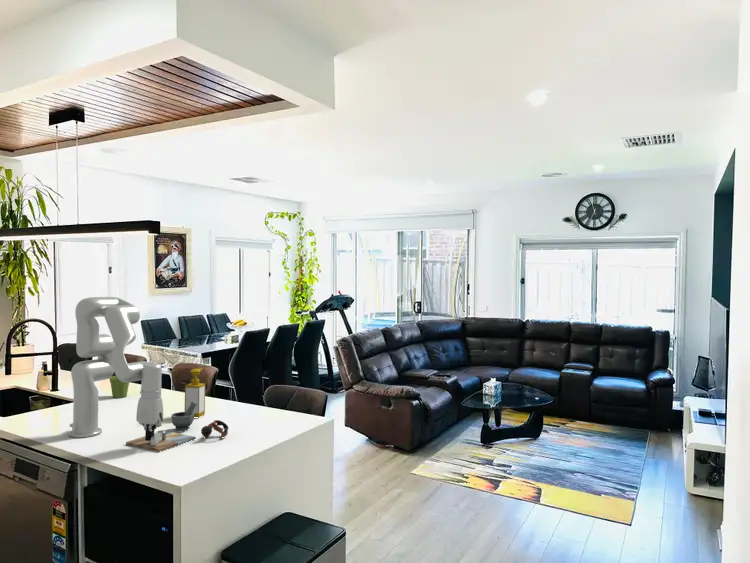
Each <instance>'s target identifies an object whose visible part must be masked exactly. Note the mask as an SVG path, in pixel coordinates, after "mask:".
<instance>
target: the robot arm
mask: <svg viewBox="0 0 750 563" xmlns="http://www.w3.org/2000/svg"><path fill="white" fill-rule="evenodd" d="M74 313H75V320H76V343H75V344H76V347H75V350H76V354H77V356H78V357H79V358H82V359H83V358H84V359H86V358H87V359H88V358H89V359H90V358H94V357H95V358H96V357H97V358H96V359H90V360H89V359H88V360H87V359H86V360H83V361H79V362H76V363H75V364H74V365H73V366H72V368H71V373H70V374H71V375H70V376H71V380H72V388H73V404H72V406H73V409H72V411H73V412H72V413H73V414H72V418H73V419H72V423H70V424H69V427H70V428H72V429H71V430H69V432H68V436H69V437H70V438H77V439H79V438H88V437H94V436H97V435H100V434H101V433H102V432H103V431H102V430H103V428H100V427H99V389H98V387H97V386H96V385H95V382H101V381H105V380H109V378H110V377H113V376H114V374H115V376H117V378H118V379H119V380H120V381H121V382H124V383H127V382H129V383H133V382H136V381H141V382H140V384H141V385H140V386H141V387H140V391H139V394H140V397H139V398H138V402H137V407H136V416H135V417H136V422H137V423H138V424H139V425H142V427H143V430H144V431H145V432H144V433H145V434H144V436H145V440H146V441H150V440H151V437H153V436H154V433H155V430H157V428H159V427H162V426H163V424H162V422H163V421H164V405H163V399H162V375H163V374H162V372H163V371H162V370H163V368H162V365H161V364H160V363H152V362H149V361H146V360H143V361H135V362H129V363H128V362H127V359H126V357H125V349H126V348H127V346H128V345H130V344H132V343H133V342H134V341H135V340H136V339H137V335H136V332H135V331H134V327H133V325H135V324H137V323H139V321H140V317H141V314H140V310H139V309H138V308H137V307H136V306H135V305H134V304H132V303H130V302H128V301H127V300H124V299H122V298H120V297H115V296H93V297H92V296H90V297H85V298H83V299H81V300H80V301H78V303H77V304H76V306H75V312H74ZM99 317H104V320H105V322H106V324H107V327H108V329H109V332H110V334H107V333H106V334H105V333H103V334H102V333H101V334H100V324H99V321H98V320H97V318H99Z"/></svg>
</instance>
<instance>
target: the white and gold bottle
mask: <svg viewBox="0 0 750 563" xmlns="http://www.w3.org/2000/svg"><path fill="white" fill-rule="evenodd" d="M202 370H203V368H193V369H191V370H189V373H191V375H192V376H193V379H191V382H190V383H188V384H186V385H185V386H184V412H186V411H187V410H188V408H189V406H190V405H191V402H195V403H196V404H197V405H196V406H195V408H194V410H193V413H194V417H198V418H197V419H200V418H201V417H200V416H202V415H203V416H205V415H204V414H206V383H201V382H200V379H199V378H198V376H199V375H200V372H202ZM203 416H202V417H203ZM199 417H200V418H199Z"/></svg>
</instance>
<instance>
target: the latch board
mask: <svg viewBox="0 0 750 563" xmlns="http://www.w3.org/2000/svg"><path fill="white" fill-rule="evenodd" d="M165 431H166V439H163V440H161V441H160V442H159V443H158V444H156V445H151V440H150V441H146V440H145V435H144V436H141V437H138V438H134V439H131V440H129V441H126V442H125V445H126V446H129V447H133V448H137V447H138V449H142V448H143V449H144V450H146V449H148V451H151V450H152V452H155V451H157V452H156V453H161V452H160V451H162V452H164V451H163V450H165V451H167V450H166V449H168V450H170V449H172V447H173V448H176V447H179V446H182V445H184V444H183V443H185V444H187V443H186V442H188V443H190V442H189V441H191V440H193V441H195V440H194V439H196V436H192V435H188V434H183V433H177V432H172V431H167V430H165ZM155 434H157V432H154V435H155ZM191 442H192V441H191ZM181 444H182V445H181ZM178 445H179V446H178ZM175 446H176V447H175ZM169 448H170V449H169ZM143 449H142V450H143Z"/></svg>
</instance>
